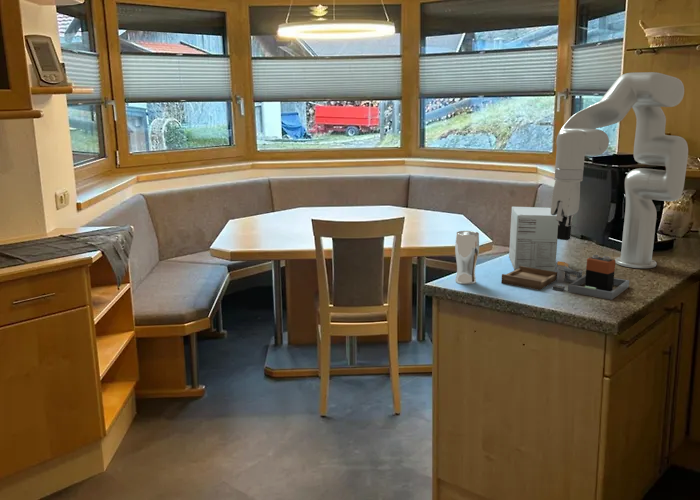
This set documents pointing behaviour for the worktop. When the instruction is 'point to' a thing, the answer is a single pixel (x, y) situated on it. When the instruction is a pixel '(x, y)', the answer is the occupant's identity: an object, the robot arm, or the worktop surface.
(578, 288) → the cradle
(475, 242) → the beer glass
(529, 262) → the supplement box
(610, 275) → the battery
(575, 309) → the worktop surface
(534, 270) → the wooden tray
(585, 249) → the worktop surface
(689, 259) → the worktop surface
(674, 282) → the worktop surface
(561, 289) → the key mount
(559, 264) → the release key
